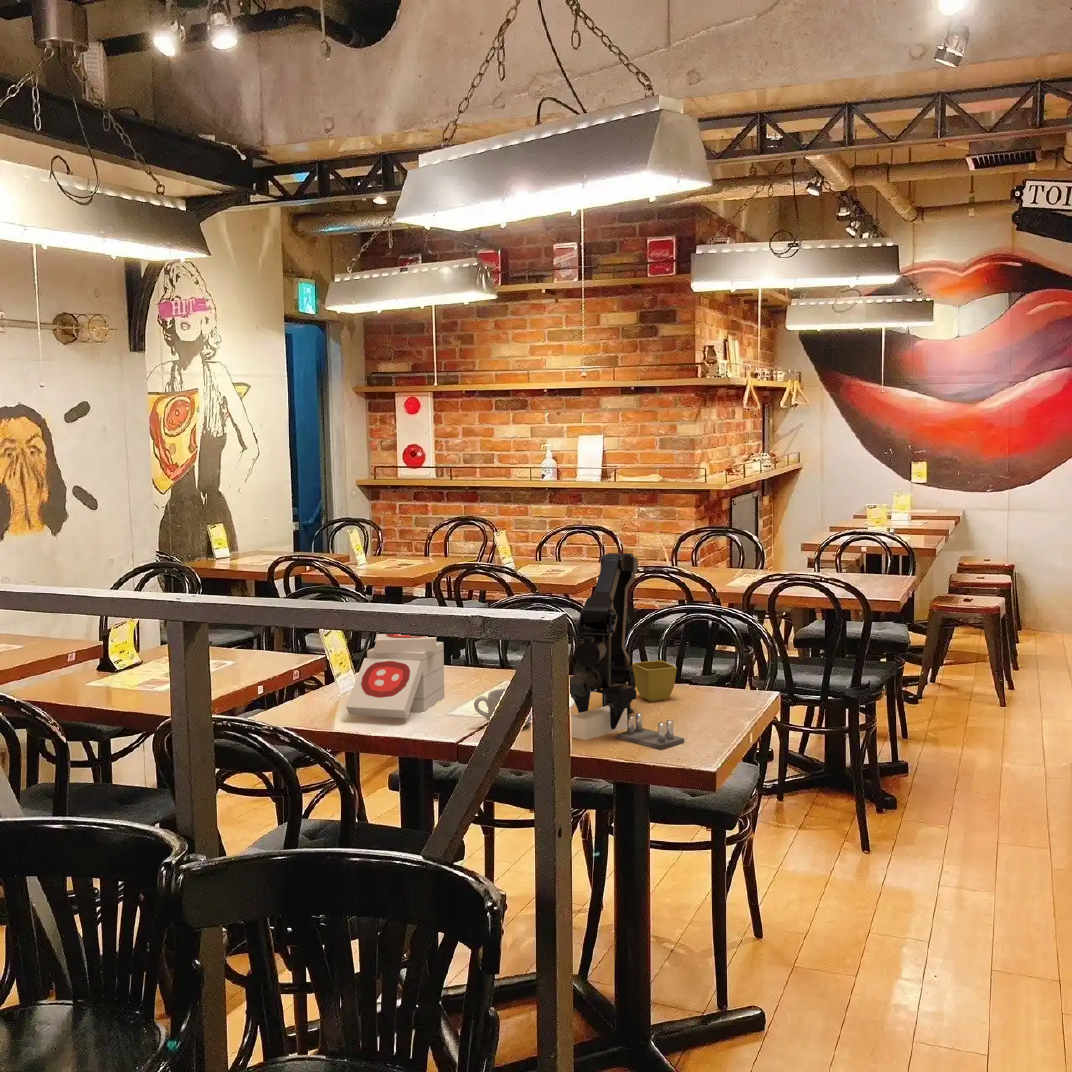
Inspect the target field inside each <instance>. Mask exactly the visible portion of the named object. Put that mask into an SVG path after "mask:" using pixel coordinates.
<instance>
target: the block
mask: <svg viewBox="0 0 1072 1072" xmlns="http://www.w3.org/2000/svg"><path fill="white" fill-rule="evenodd" d="M570 715H571V717H572V736H573V737H572V738H573V739H574V738H575V739H578V740H581V741H588V740H591V738H592V739H595V738H598V737H603V736H605V735H609V734H613V733H617V732H619V731H623V730H627V716H628V714H627V708H625V710H624V711H623V713H622V715H621V718H620V720H619V722H618V724H617V726H616V728H615V729H611V725H610V707H609V706H604V707H602V706H601V707H597V708H593V709H588V711H585V712H581V713H579V712H578V713H573V714H570ZM594 737H595V738H594Z"/></svg>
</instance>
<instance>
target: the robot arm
mask: <svg viewBox="0 0 1072 1072" xmlns="http://www.w3.org/2000/svg"><path fill="white" fill-rule="evenodd" d="M638 568H639V559H638V557H636V556H634V553H633V552H632V553H627V552H626V553H625V552H624V553H623V552H621V553H620V552H608V553H605V554H603V555H601V556H600V568H599V569H600V570H599V575H598V578H597V581H596V585H595V589H594V592H593V594H592V595H591V596H590V597H587V598H586V600H585V602H584V605H583V608H581V609H580V614H579V619H578V626H577V633H576V637H583V639H582V642H580V644H578V645H577V647H576V649H575V651H574V658H575V661H576V663H578V664H579V666H580V668H581V669H580V671H579V672H576V673H575V674H573V675H571V676H569V677H570V694H571V697H570V698H572V700H573V701H574V704H575V706H576V709H577V712H578V713H581V712H585V711H589V706H590V699H591V693H593V692H594V693H599V694H602V695H601V696H602V697H601V701H602V702H601V707H604V706H609V707H610V725H611V729H615V728H616V726H617V724H618V722H619V720H620V718H621V715H622V713H623V711H624V710H625V708H627V715H628V714H631V713H634V712H635V710H634V709H631V708H632V707H631V703H632V702H633V700H637V688H636V686H635V676H634V672H633V665H631V658H630V655H628V652H627V650H626V649H625V646H626V644H625V643H626V631H627V630H626V627H627V615H628V614H627V612H628V593H629V592H628V591H629V589H630V587H631V585H632V584H633V583H634V582H635V580H636V573H638V570H639V569H638Z"/></svg>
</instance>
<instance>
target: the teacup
mask: <svg viewBox="0 0 1072 1072" xmlns="http://www.w3.org/2000/svg"><path fill="white" fill-rule="evenodd" d="M506 688H507V687H506ZM506 688H498V689H493V690H490V691H489V692H488V693H487V697H486V696H483V695H480V696H478V697H477V698H476V699H475V700H474V702H473V707H474V710H475V711H476V712H477V714H479V715H481V716H482V717H484V718H485V719H486V720H487V721H489V720H490V717H491V716H492V714H493V712H494V711H495V707H496V706H497V704H498V702H499V701H500V697H501V696H502V694H503V692H504V691H505V689H506ZM482 701H483V702H485V704H486V707H487V708H488V709H487V712H485V711H483V710H482V709H481V708H479V703H481V702H482ZM531 721H532V718H531V715H530V716H529V717H528V720H527V721H526V725H527V724H529V723H530V722H531Z"/></svg>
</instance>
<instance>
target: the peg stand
mask: <svg viewBox="0 0 1072 1072" xmlns="http://www.w3.org/2000/svg"><path fill="white" fill-rule="evenodd" d="M616 739H617V740H621V741H625V742H629V743H633V744H636V745H640V746H644V747H649V748H652V749H656V750H659V751H663V750H666V749H668V748H672V747H675V746H678V745H681V744H684V743H685V738H684V737H681V736H677V735H674V720H671V719H670V720H665V722H658V723H657V731H656V730H654V729H653V730H652V729H649V728H643V713H641V712H636V713H635V715H633V714H630V715H628V714H627V729H626V731H622V732H620V733H616Z"/></svg>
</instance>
